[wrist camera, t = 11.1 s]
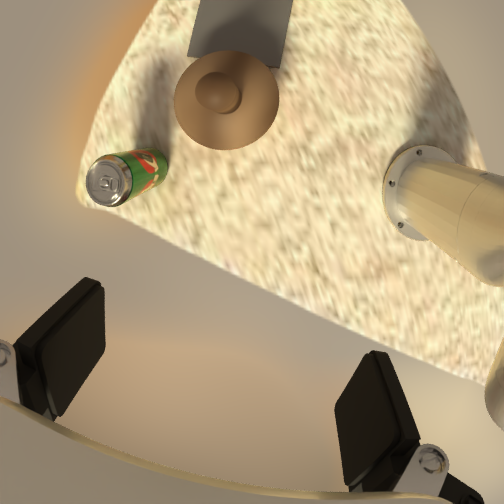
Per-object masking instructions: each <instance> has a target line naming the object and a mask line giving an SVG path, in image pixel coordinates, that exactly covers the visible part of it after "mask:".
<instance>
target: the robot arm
mask: <svg viewBox="0 0 504 504" xmlns="http://www.w3.org/2000/svg"><path fill="white" fill-rule="evenodd" d="M417 151H418V154H417ZM389 181H391V184H389ZM382 195H383V205H384V209H385V212H386V215H387V217H388V219H389V221H390V222H391V224H392V225H393V226H394V227H395V228H396V229H397V230H398V231H399V232H400V233H401V234H403V235H404V236H406V237H408V238H410V239H413V240H417V241H428V240H430V241H431V242H433V243H434V244H435V245H436V246H438V247H439V248H440V249H442V250H443V251H444V252H445V253H447V254H448V255H449V256H450V257H451V258H453V259H454V260H455V261H456V262H458V263H459V264H460V265H461V266H462V267H464V268H465V269H466V270H467V271H468V272H470V273H471V274H472V275H473V276H474V277H476V278H477V279H478V280H480V281H481V282H483V283H485V284H487V285H491V286H495V287H504V176H500V175H497V174H493V173H490V172H486V171H482V170H479V169H475V168H471V167H467V166H463V165H459V164H457V163H456V161H455V160H454V159H453V157H452V156H450V155H449V154H448V153H447V152H446V151H444V150H442V149H440V148H437V147H434V146H428V145H420V146H414V147H411V148H409V149H407V150H405V151H404V152H402V153H401V154H400V155H399V156H398V157H396V158H395V160H394V161H393V162H392V164H391V165H390V167H389V169H388V171H387V173H386V176H385V179H384V183H383V191H382ZM399 222H400V224H399V225H398V223H399ZM104 293H105V292H104V288H103V287H101V283H100V282H99V281H96V280H94V279H90V278H88V277H84V278H83V279H82V280H81V281H79V282H78V283H77V284H76V285H75V286H74V287H73V288H71V289H70V290H69V291H68V292H67V293H66V294H65V295H64V296H63V297H62V298H60V299H59V300H58V301H57V302H56V303H55V304H54V305H53V306H52V307H50V309H48V311H46V312H45V313H44V314H43V315H42V316H41V317H40V318H39V319H38V320H37V321H36V322H35V323H34V324H33V325H32V326H31V327H29V328H28V329H27V330H26V331H25V333H23V334H22V335H21V336H20V337H19V338H18V339H17V341H16V342H15V343H14V344H13V345H11V344H10V343H9V342H7V341H4V340H1V339H0V504H484V501H483V498H482V497H481V495H480V494H479V493H478V492H477V491H475V490H474V489H472V488H470V487H469V486H467V485H466V484H464V483H463V482H461V481H460V480H458V479H457V478H455V477H454V476H452V475H451V474H449V473H448V470H449V460H448V458H447V456H446V454H445V453H444V451H443V450H442V449H440V448H439V447H437V446H435V445H433V444H423V445H420V443H419V440H420V439H421V438H420V435H419V432H418V429H417V427H416V424H415V421H414V419H413V416H412V413H411V410H410V408H409V405H408V402H407V400H406V397H405V394H404V392H403V389H402V387H401V384H400V382H399V380H398V377H397V374H396V372H395V370H394V367H393V365H392V363H391V360H390V358H389V356H388V354H387V353H386V352H380V351H374V350H373V351H371V352H370V353H369V354H368V353H367V354H365V355H364V357H363V358H362V360H361V362H360V364H359V366H358V367H357V369H356V371H355V372H354V374H353V376H352V378H351V379H350V381H349V383H348V384H347V386H346V388H345V389H344V391H343V392H342V394H341V396H340V397H339V399H338V400H337V402H336V404H335V409H334V411H335V418H336V425H337V432H338V438H339V446H340V452H341V460H342V468H343V476H344V482H345V485H347V486H349V492H319V491H302V490H290V489H280V488H271V487H263V486H256V485H249V484H243V483H237V482H231V481H226V480H221V479H216V478H211V477H207V476H202V475H198V474H194V473H190V472H186V471H182V470H178V469H175V468H171V467H167V466H164V465H161V464H158V463H154V462H151V461H148V460H145V459H142V458H139V457H136V456H133V455H130V454H128V453H125V452H122V451H119V450H117V449H114V448H112V447H109V446H107V445H104V444H102V443H99V442H97V441H94V440H92V439H90V438H88V437H85V436H83V435H81V434H79V433H76V432H74V431H72V430H70V429H68V428H66V427H63V426H61V425H59V424H57V423H55V422H54V421H55V419H56V417H57V416H59V417H61V416H62V415H63V414H64V412H65V411H66V409H67V408H68V406H69V404H70V403H71V401H72V400H73V398H74V397H75V395H76V394H77V392H78V391H79V389H80V388H81V386H82V384H83V383H84V381H85V380H86V379H87V377H88V376H89V374H90V373H91V371H92V369H93V368H94V367H95V365H96V364H97V362H98V361H99V359H100V358H101V356H102V355H103V353H104V351H105V345H106V342H105V309H104V308H105V306H104V304H105V303H104V302H105V301H104V299H105V297H104V296H105V294H104ZM485 403H486V408H487V411H488V412H489V415H490V416H491V418H492V420H493V421H494V422H495V423H496V424H497V425H498V426H499V427H500V428H501V429H502V430H503V431H504V337H503V340H502V342H501V345H500V347H499V350H498V352H497V354H496V357H495V360H494V362H493V364H492V367H491V369H490V372H489V375H488V378H487V381H486V386H485Z"/></svg>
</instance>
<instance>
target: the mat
mask: <svg viewBox="0 0 504 504" xmlns="http://www.w3.org/2000/svg"><path fill="white" fill-rule="evenodd" d="M292 2H293V0H201V1H200V5H199V8H198V12H197V16H196V20H195V24H194V28H193V32H192V36H191V41H190V45H189V49H188V54H187V56H188V57H198V58H201V57H203V56H205V55H207V54H210V53H213V52H218V51H226V50H231V51H239V52H243V53H246V54H249V55H251V56H253V57H255V58H257V59H258V60H260V61H261V62H262V63H263V64H265V65H266V66H270V67H275V68H279V67H280V62H281V57H282V52H283V47H284V42H285V37H286V32H287V27H288V22H289V17H290V12H291V7H292Z"/></svg>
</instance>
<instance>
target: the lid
mask: <svg viewBox="0 0 504 504" xmlns="http://www.w3.org/2000/svg"><path fill="white" fill-rule="evenodd" d="M278 107H279V90H278V86H277V83H276V80H275V78H274V76H273V74H272V73H271V71H270V70H269V69H268V68H267V66H266V65H265V64H263V63H262V62H261V61H260V60H258V59H257V58H255V57H253V56H251V55H249V54H246V53H243V52H239V51H231V50H226V51H218V52H213V53H210V54H207V55H205V56H203V57H201V58H199V59H198V60H196V61H195V62H194V63H192V64H191V65H190V66H189V67H188V68H187V69H186V70H185V72H184V73H183V74H182V76H181V78H180V79H179V81H178V84H177V86H176V90H175V94H174V109H175V114H176V117H177V120H178V122H179V124H180V126H181V127H182V129H183V130H184V132H185V133H186V134H187V135H188V136H189V137H190V138H191V139H193V140H194V141H196V142H197V143H199V144H201V145H203V146H205V147H208V148H212V149H217V150H232V149H238V148H241V147H244V146H247V145H249V144H251V143H253V142H255V141H256V140H258V139H259V138H260V137H262V136H263V135H264V134H265V133H266V132H267V130H268V129H269V128H270V127H271V125H272V123H273V122H274V119H275V117H276V115H277V111H278Z"/></svg>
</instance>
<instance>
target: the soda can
mask: <svg viewBox="0 0 504 504" xmlns="http://www.w3.org/2000/svg"><path fill="white" fill-rule="evenodd" d="M167 170H168V166H167V161H166V159H165V157H164V155H163V154H162V153H161V152H160V151H158V150H157V149H154V148H143V149H137V150H131V151H125V152H119V153H114V154H108V155H104V156H102V157H100V158H98V159H97V160H96V161H95V162H94V163H93V165H92V166H91V167H90V169H89V170H88V173H87V176H86V188H87V191H88V194H89V195H90V197H91V198H92V199H93V200H94V201H95V202H96V203H98V204H100V205H103V206H107V207H116V206H119V205H121V204H123V203H125V202H127V201H129V200H131V199H132V198H134V197H136V196H138V195H140V194H142V193H144V192H146V191H148V190H150V189H152V188H154V187H156V186H158V185H159V184H161V183H162V182H163V180H164V179H165V177H166V175H167Z"/></svg>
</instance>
